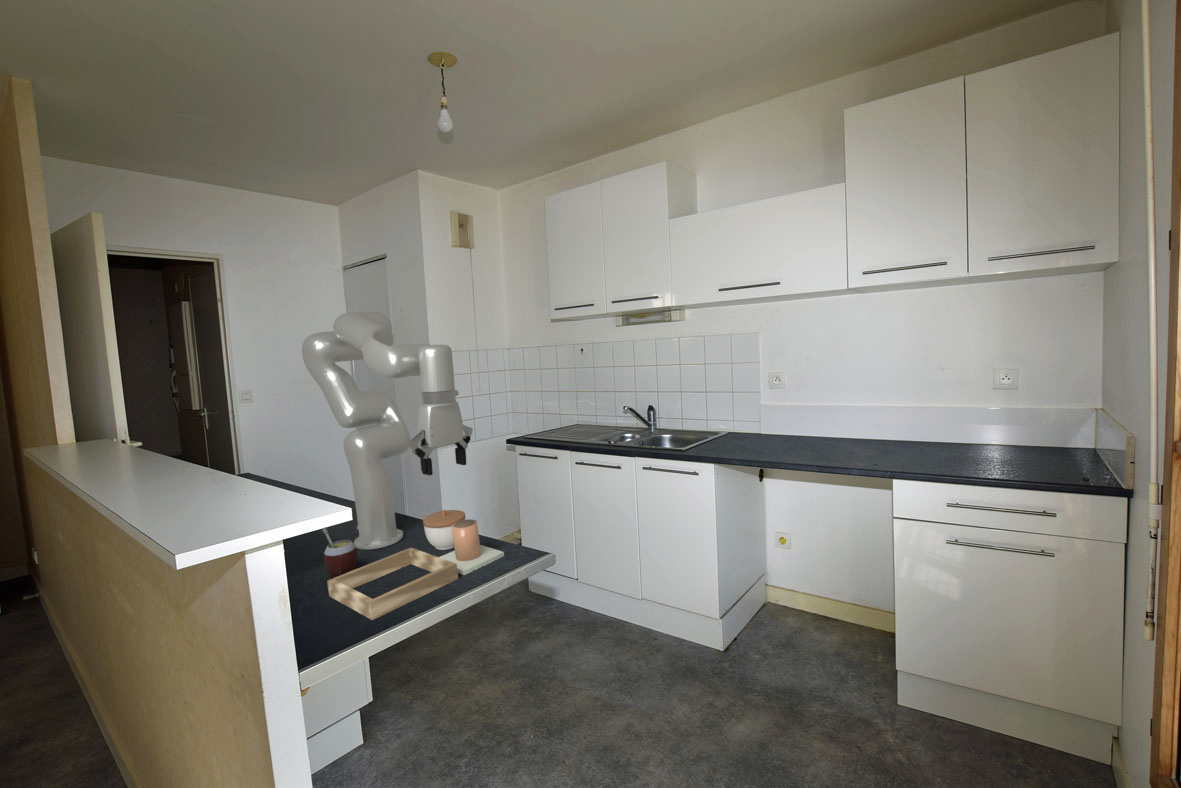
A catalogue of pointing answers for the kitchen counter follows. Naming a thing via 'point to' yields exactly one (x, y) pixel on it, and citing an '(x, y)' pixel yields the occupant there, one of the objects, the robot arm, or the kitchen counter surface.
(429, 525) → the lidded jar
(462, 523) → the terracotta pot
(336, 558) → the mate gourd
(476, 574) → the kitchen counter surface
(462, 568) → the sage tile
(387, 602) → the frame
